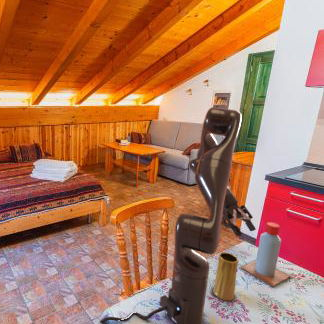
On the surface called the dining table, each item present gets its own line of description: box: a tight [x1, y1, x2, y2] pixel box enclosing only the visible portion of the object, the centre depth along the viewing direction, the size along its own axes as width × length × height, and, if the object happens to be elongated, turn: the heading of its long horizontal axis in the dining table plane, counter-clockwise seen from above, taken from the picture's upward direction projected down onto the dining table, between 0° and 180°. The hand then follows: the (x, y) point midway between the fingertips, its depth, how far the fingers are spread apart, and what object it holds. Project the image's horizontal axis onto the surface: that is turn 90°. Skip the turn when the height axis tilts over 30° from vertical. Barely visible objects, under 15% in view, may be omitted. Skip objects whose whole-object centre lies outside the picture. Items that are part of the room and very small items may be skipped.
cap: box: [265, 221, 281, 236], centre depth 90 cm, size 4×4×3 cm
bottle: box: [255, 231, 282, 277], centre depth 92 cm, size 6×6×19 cm
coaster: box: [240, 260, 291, 287], centre depth 94 cm, size 11×11×1 cm
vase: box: [212, 252, 239, 301], centre depth 82 cm, size 6×6×14 cm
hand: (246, 233), depth 98 cm, fingers open, 8 cm apart
